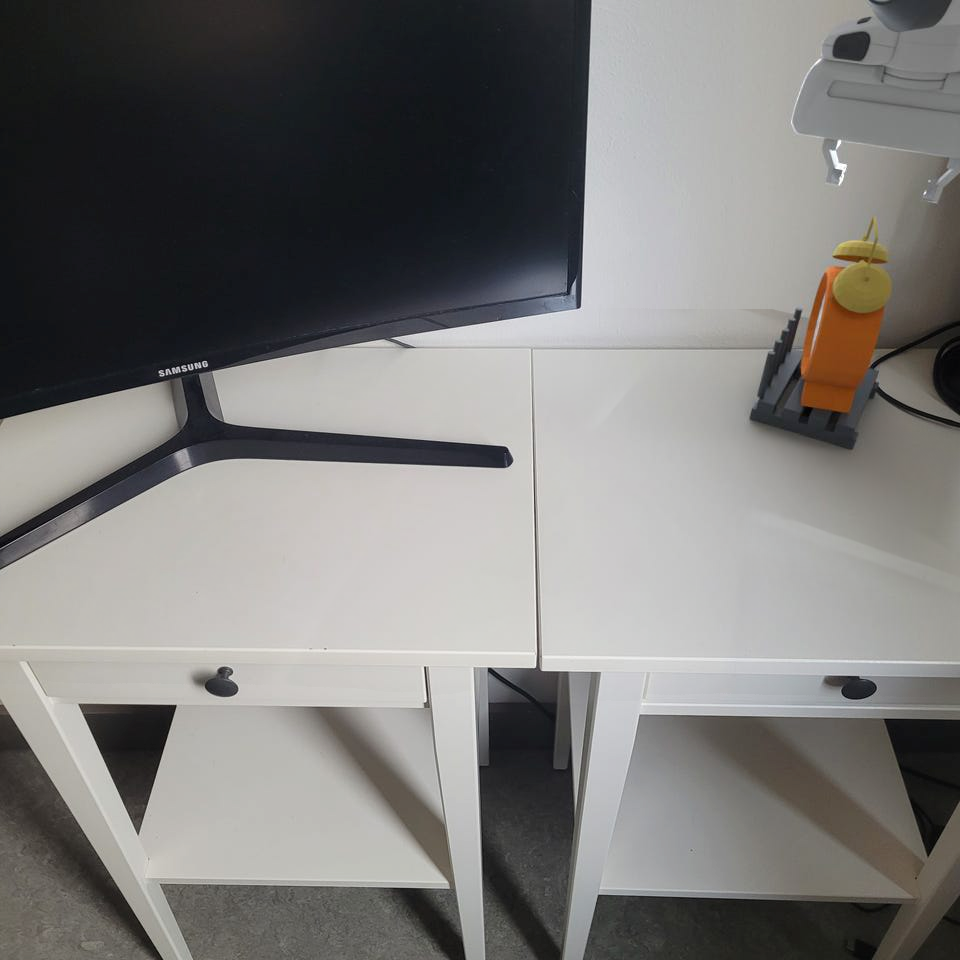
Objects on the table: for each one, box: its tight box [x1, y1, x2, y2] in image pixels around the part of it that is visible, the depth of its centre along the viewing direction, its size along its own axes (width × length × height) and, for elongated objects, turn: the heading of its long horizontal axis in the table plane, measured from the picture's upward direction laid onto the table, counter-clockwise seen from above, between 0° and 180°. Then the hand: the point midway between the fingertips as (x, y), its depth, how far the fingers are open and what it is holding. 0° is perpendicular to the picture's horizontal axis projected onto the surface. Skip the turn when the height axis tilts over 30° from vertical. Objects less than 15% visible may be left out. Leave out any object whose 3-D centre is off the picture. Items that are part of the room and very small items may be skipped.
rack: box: [749, 307, 880, 450], centre depth 98 cm, size 12×14×9 cm
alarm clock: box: [801, 215, 893, 413], centre depth 92 cm, size 13×6×20 cm, turn 162°
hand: (880, 191), depth 83 cm, fingers open, 8 cm apart
